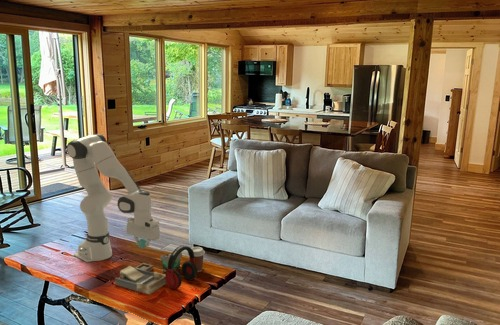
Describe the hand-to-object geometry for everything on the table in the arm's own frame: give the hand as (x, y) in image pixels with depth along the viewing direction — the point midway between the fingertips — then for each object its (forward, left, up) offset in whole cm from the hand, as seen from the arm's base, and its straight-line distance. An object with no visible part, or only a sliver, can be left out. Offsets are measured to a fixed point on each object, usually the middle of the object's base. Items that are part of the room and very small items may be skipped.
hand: (142, 244), depth 215 cm
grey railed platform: (+6, -13, -15) cm, 20 cm away
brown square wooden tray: (+1, 0, -15) cm, 15 cm away
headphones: (+28, -3, -15) cm, 32 cm away
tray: (+17, -13, -15) cm, 25 cm away
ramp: (+3, -13, -13) cm, 18 cm away
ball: (0, 0, 0) cm, 0 cm away
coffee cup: (+26, +14, -15) cm, 33 cm away
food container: (+16, +6, -15) cm, 22 cm away
